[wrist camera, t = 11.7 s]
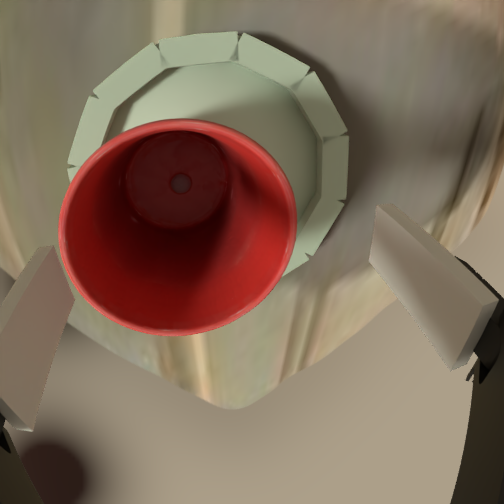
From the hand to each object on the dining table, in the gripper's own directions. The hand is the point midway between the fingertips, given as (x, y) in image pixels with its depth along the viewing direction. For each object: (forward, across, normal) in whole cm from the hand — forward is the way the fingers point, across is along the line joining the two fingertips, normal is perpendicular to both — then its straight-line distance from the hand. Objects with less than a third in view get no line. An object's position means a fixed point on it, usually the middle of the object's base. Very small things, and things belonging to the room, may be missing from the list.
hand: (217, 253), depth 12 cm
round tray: (+12, 0, 0) cm, 12 cm away
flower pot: (+11, -2, 0) cm, 12 cm away
